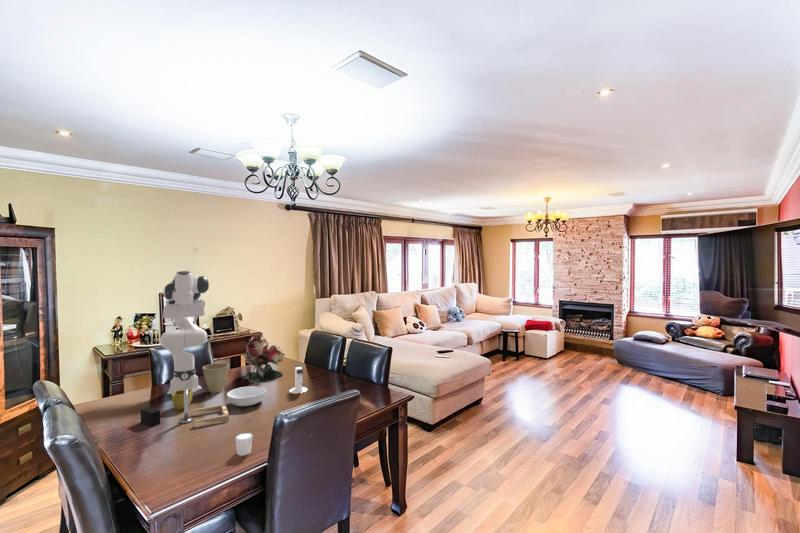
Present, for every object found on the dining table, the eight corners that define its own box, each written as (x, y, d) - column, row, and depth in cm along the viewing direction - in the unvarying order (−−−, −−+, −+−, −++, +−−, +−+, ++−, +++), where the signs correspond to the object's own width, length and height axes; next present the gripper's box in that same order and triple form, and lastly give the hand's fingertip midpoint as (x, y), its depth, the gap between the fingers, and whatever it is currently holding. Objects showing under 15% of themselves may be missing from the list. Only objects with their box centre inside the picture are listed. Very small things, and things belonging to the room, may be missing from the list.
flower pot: (171, 411, 208) (171, 395, 208) (176, 406, 217) (176, 390, 216) (189, 410, 211) (189, 394, 210) (193, 404, 219) (193, 388, 219)
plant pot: (233, 387, 248) (233, 363, 248) (220, 395, 233) (220, 369, 233) (211, 386, 250) (211, 362, 249) (197, 394, 235) (197, 368, 234)
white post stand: (309, 392, 239) (309, 368, 239) (290, 394, 235) (290, 370, 235) (306, 386, 250) (306, 363, 250) (288, 388, 246) (288, 365, 246)
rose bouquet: (289, 373, 278) (289, 332, 278) (255, 384, 254) (255, 340, 253) (266, 368, 292) (266, 329, 291) (231, 378, 267) (231, 335, 267)
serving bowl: (252, 412, 209) (252, 399, 208) (218, 408, 213) (218, 396, 213) (272, 398, 229) (272, 387, 229) (241, 395, 233) (241, 384, 233)
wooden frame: (193, 415, 204) (193, 409, 204) (224, 409, 212) (224, 403, 212) (195, 427, 189) (195, 421, 189) (229, 420, 197) (229, 415, 197)
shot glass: (254, 448, 168) (254, 432, 168) (249, 456, 161) (249, 439, 161) (239, 448, 168) (239, 432, 168) (232, 456, 161) (232, 440, 161)
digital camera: (162, 423, 194) (162, 409, 194) (151, 427, 189) (151, 413, 189) (152, 418, 199) (151, 405, 199) (140, 422, 195) (140, 408, 194)
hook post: (179, 420, 197) (179, 389, 197) (192, 417, 200) (192, 387, 200) (179, 427, 189) (179, 395, 189) (193, 424, 192) (193, 393, 192)
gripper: (204, 299, 220) (204, 322, 220) (162, 300, 209) (162, 326, 209) (205, 299, 215) (205, 324, 215) (162, 301, 204) (162, 327, 204)
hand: (184, 325), depth 212 cm, fingers open, 8 cm apart
